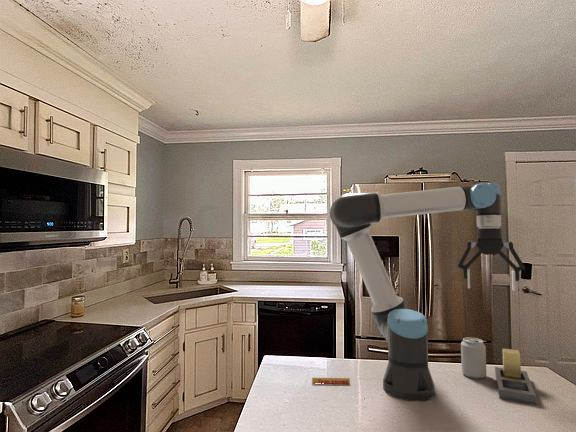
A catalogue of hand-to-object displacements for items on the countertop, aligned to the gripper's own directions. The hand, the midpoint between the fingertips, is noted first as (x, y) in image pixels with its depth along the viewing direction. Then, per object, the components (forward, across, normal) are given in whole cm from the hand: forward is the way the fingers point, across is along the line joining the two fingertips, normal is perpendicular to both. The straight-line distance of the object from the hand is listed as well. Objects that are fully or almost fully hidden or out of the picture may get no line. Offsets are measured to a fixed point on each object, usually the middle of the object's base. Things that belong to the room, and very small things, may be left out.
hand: (490, 289), depth 125 cm
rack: (+29, +5, -10) cm, 31 cm away
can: (+29, -6, -4) cm, 30 cm away
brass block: (+29, +5, -6) cm, 30 cm away
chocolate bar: (+29, -47, -32) cm, 64 cm away
